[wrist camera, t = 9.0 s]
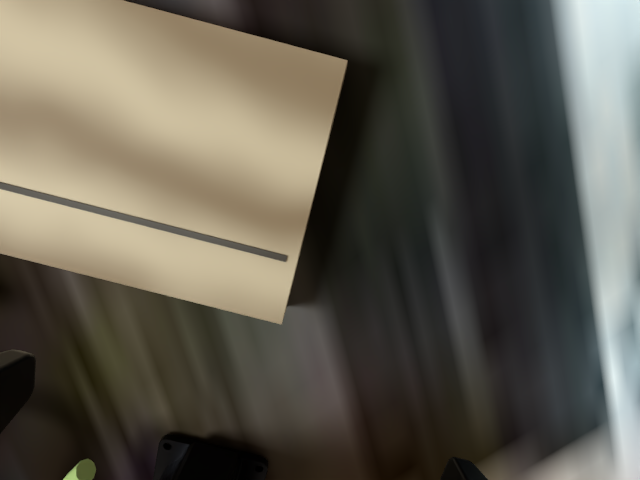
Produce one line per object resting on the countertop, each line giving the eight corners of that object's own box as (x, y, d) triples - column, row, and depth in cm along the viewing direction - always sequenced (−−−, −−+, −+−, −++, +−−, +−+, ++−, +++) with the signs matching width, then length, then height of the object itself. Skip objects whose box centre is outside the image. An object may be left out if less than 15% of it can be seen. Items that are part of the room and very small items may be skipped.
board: (286, 306, 21) (281, 325, 19) (-241, 172, 20) (-305, 177, 18) (346, 68, 17) (347, 60, 15) (-280, -99, 17) (-364, -131, 15)
